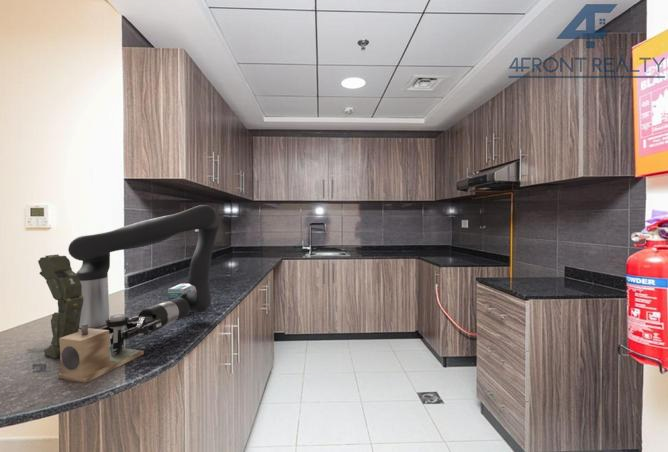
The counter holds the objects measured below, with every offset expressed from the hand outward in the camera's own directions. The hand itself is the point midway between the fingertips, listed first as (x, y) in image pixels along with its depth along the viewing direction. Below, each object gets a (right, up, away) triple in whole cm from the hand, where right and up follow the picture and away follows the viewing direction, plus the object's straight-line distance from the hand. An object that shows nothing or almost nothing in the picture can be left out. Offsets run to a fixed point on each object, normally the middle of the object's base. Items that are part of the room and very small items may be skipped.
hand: (111, 334), depth 85 cm
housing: (0, -7, -2) cm, 8 cm away
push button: (-1, -6, +3) cm, 7 cm away
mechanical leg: (-18, -8, +6) cm, 21 cm away
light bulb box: (-2, -6, +46) cm, 46 cm away
